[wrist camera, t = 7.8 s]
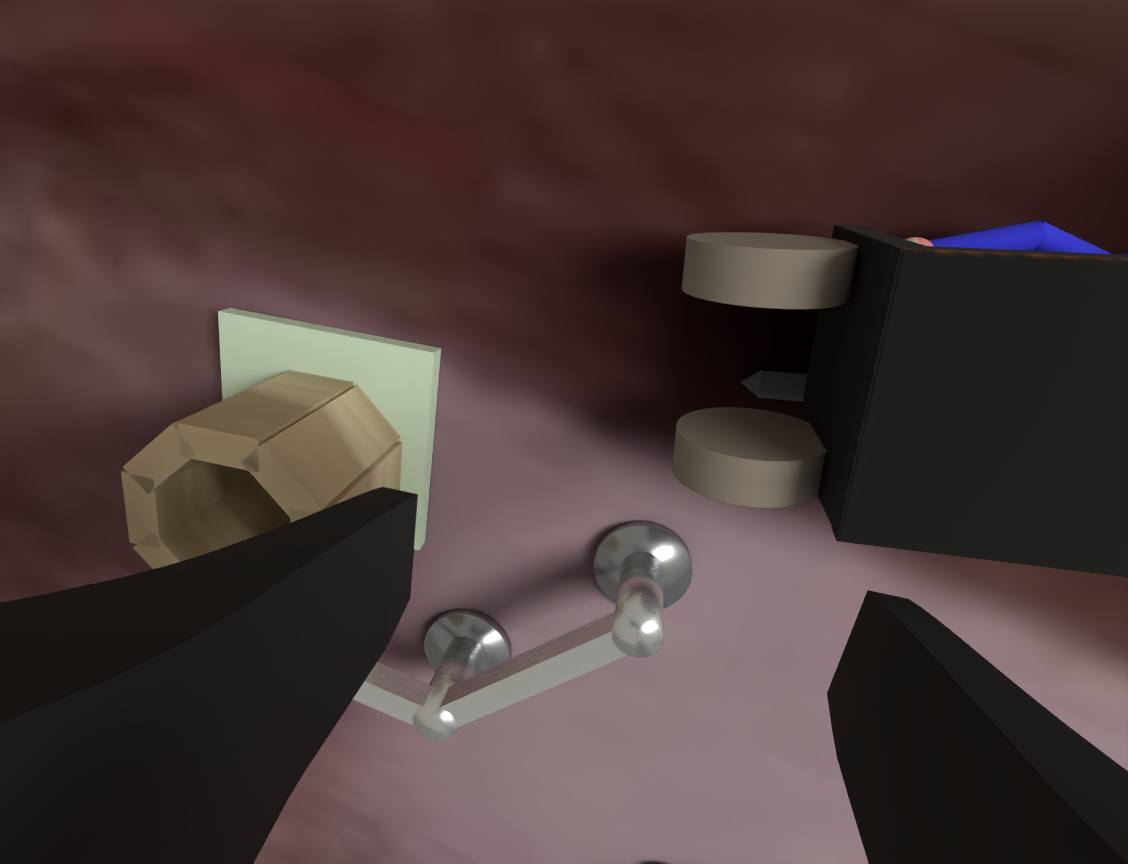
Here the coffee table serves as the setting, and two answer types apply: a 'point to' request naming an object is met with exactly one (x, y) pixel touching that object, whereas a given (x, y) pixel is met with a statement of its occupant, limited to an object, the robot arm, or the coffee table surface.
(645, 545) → the grey piece
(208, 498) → the maple ring
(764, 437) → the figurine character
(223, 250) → the coffee table surface
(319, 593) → the robot arm
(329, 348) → the pad
